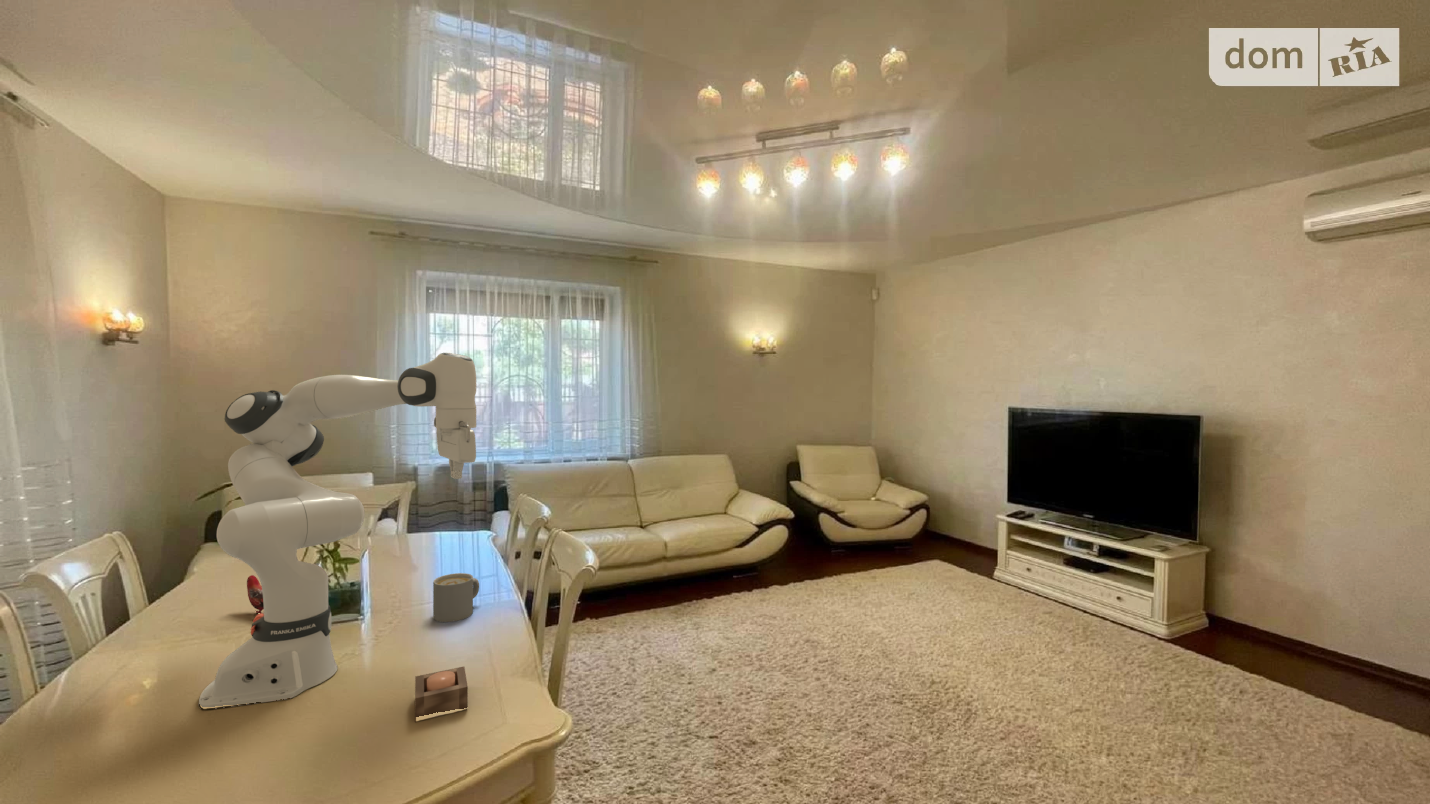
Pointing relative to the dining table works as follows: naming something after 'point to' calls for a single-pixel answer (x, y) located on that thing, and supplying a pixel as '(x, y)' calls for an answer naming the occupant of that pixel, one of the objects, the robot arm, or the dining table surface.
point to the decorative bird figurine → (255, 593)
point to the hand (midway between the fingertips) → (456, 478)
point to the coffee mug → (454, 596)
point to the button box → (441, 694)
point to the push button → (440, 680)
